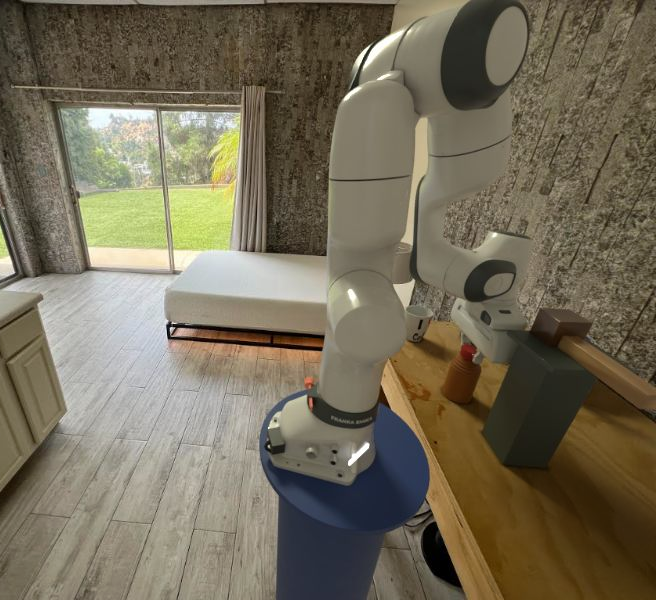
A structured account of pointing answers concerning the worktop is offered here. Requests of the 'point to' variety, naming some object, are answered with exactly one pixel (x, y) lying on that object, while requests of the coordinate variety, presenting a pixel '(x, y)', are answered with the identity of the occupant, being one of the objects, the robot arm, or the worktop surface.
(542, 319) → the mallet
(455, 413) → the worktop surface
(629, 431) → the worktop surface
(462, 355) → the cap
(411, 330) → the cup
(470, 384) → the bottle
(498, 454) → the stand
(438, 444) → the worktop surface
